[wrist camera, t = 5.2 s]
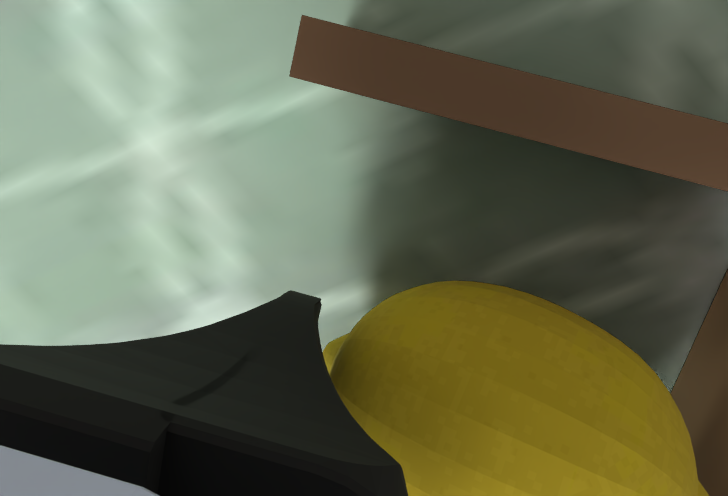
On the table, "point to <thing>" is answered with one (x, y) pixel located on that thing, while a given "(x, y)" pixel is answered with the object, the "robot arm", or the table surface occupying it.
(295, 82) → the table surface
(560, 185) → the table surface
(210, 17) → the table surface
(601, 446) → the lemon
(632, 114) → the frame
